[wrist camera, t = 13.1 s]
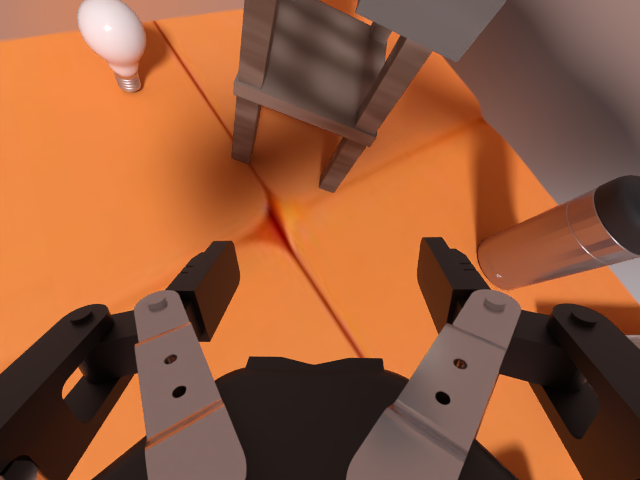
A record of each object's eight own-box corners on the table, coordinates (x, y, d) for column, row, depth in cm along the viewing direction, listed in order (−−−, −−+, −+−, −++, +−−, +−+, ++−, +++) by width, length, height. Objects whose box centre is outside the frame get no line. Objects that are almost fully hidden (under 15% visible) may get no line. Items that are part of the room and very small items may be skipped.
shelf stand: (264, 67, 49) (336, -363, 20) (351, 103, 53) (520, -219, 24) (228, 159, 41) (265, -364, 12) (335, 195, 44) (571, -136, 15)
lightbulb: (166, 97, 41) (152, 17, 32) (120, 112, 38) (88, 28, 29) (140, 65, 42) (118, -23, 32) (92, 77, 39) (52, -17, 29)
